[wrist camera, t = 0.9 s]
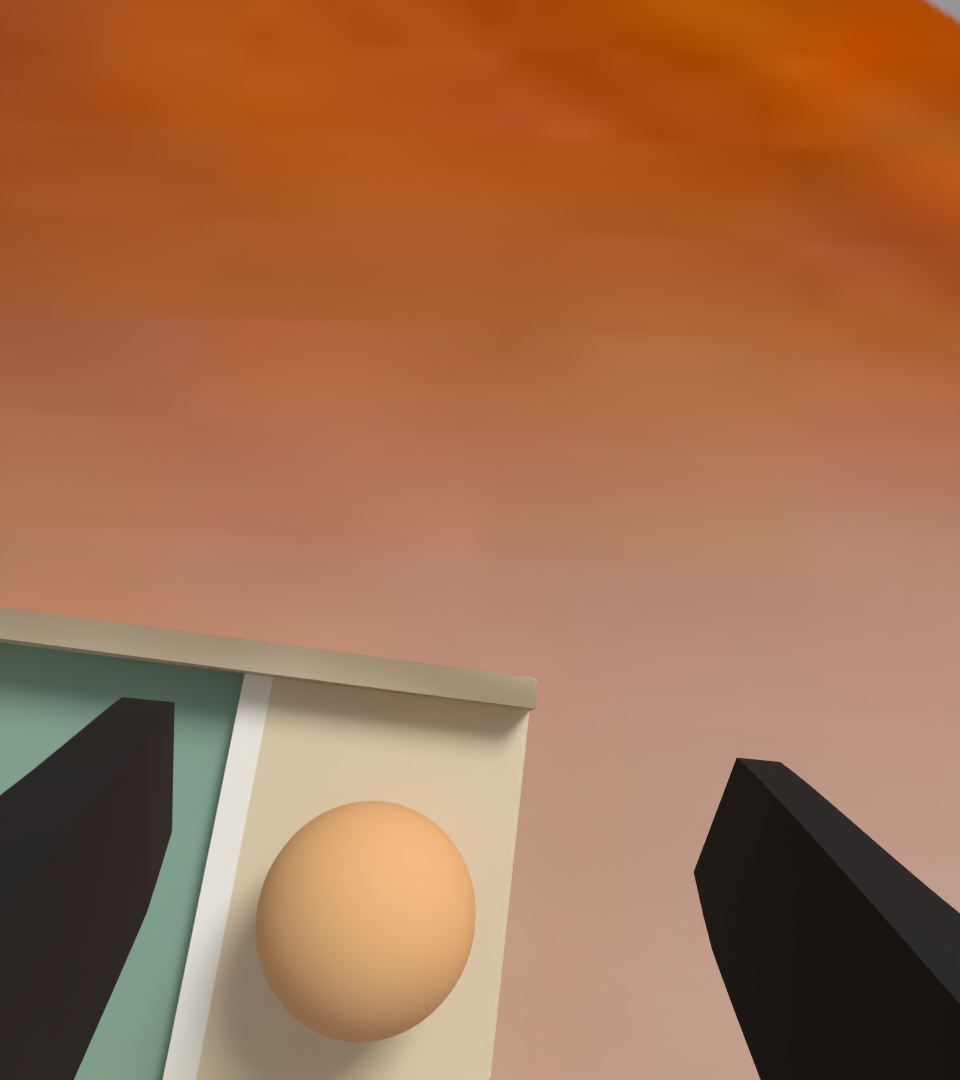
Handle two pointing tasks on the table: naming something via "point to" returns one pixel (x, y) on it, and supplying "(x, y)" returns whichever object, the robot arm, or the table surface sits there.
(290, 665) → the rails
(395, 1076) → the lane
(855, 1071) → the robot arm
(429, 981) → the ball
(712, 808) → the table surface
